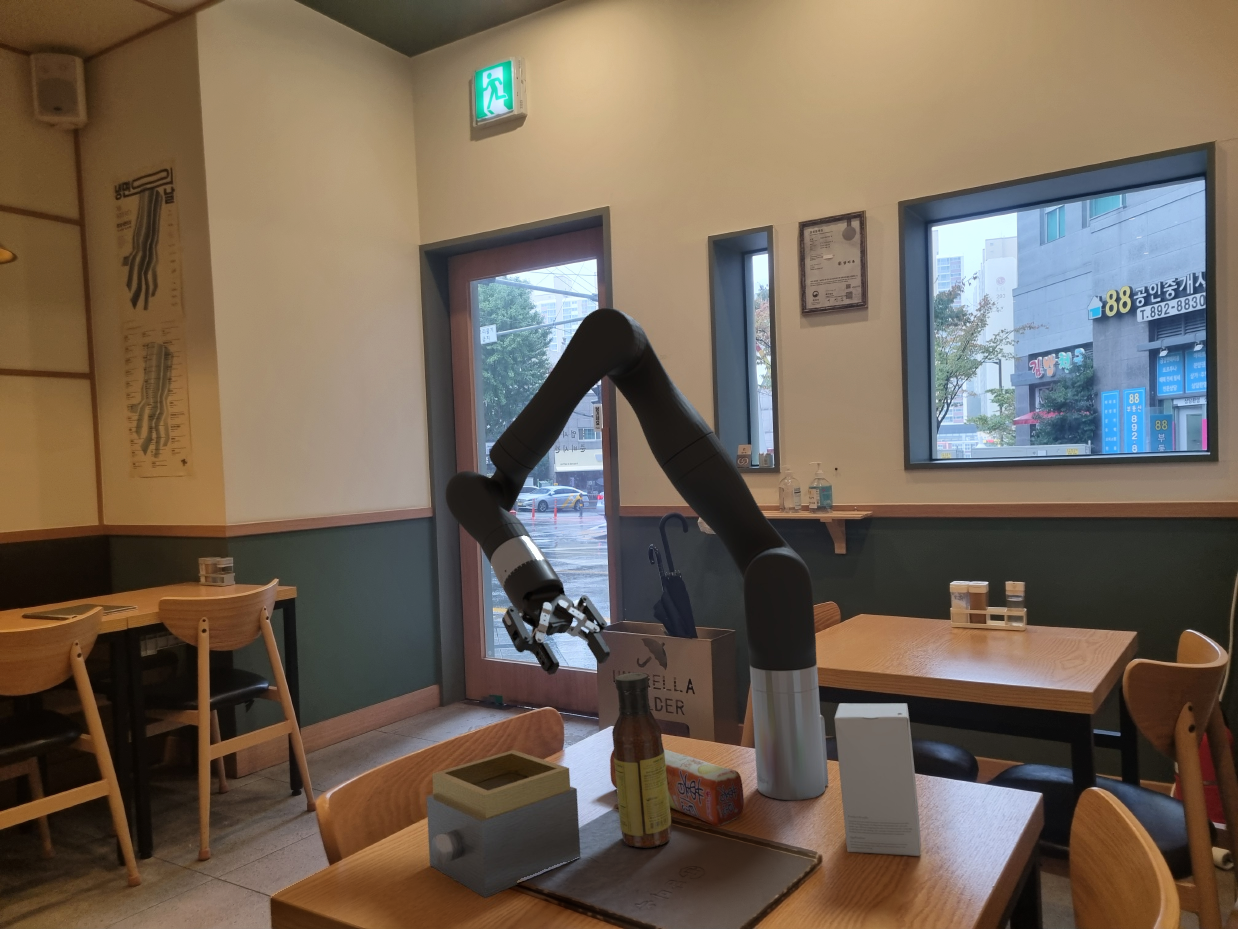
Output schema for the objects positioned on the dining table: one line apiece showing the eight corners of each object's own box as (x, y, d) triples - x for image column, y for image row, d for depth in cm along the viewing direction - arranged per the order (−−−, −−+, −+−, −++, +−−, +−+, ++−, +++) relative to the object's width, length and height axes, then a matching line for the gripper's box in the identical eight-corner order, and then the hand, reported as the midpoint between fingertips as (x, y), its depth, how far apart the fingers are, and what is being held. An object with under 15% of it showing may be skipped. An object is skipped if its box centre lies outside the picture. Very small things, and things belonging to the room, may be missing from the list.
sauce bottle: (673, 829, 105) (663, 669, 106) (671, 850, 99) (661, 680, 100) (621, 830, 106) (612, 671, 106) (615, 851, 99) (606, 682, 100)
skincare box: (920, 836, 99) (911, 702, 99) (921, 860, 92) (911, 717, 93) (847, 830, 101) (838, 700, 102) (843, 853, 95) (833, 714, 96)
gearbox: (521, 831, 107) (517, 748, 107) (580, 858, 98) (575, 767, 98) (414, 871, 97) (410, 779, 98) (469, 904, 88) (464, 803, 89)
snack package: (750, 817, 108) (746, 764, 108) (713, 832, 104) (710, 777, 104) (642, 780, 125) (640, 734, 125) (607, 792, 120) (605, 744, 121)
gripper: (493, 561, 114) (548, 655, 104) (575, 552, 123) (633, 638, 114) (474, 599, 117) (526, 693, 108) (555, 587, 127) (609, 673, 118)
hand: (580, 665), depth 111 cm, fingers open, 8 cm apart
